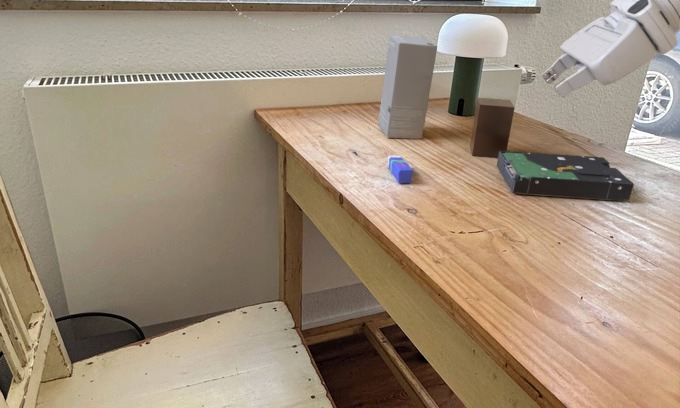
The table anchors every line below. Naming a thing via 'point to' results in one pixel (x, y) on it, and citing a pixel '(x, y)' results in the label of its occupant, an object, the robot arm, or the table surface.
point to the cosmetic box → (406, 86)
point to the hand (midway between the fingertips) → (550, 85)
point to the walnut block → (491, 127)
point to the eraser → (400, 169)
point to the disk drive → (563, 176)
